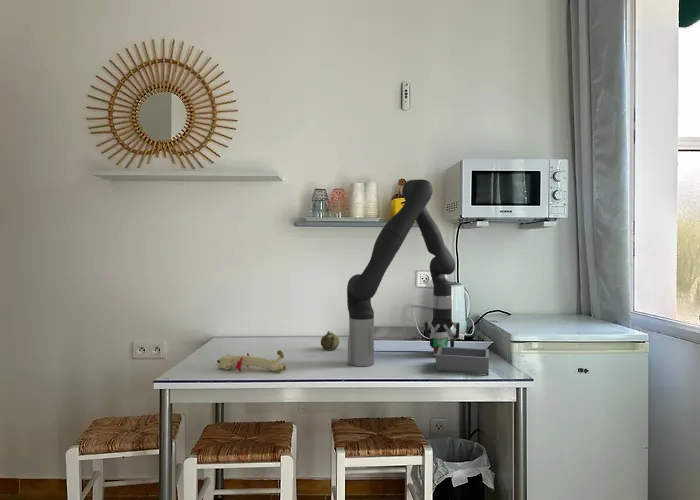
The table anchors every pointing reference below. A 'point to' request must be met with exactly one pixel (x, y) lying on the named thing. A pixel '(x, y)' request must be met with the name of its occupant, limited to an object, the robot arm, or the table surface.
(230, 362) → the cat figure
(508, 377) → the table surface
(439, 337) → the food container
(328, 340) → the onion
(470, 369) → the grey bin
